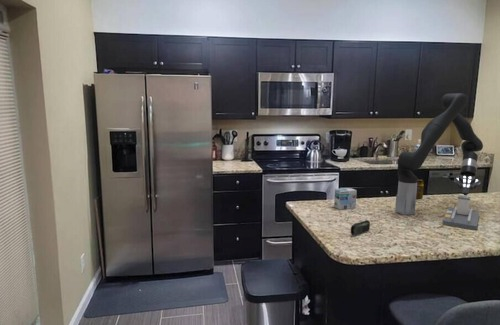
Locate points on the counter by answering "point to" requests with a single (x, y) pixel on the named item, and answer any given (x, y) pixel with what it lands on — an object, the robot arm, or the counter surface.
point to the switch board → (461, 219)
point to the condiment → (419, 190)
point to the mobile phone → (360, 228)
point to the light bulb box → (345, 198)
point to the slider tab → (463, 205)
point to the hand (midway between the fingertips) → (465, 194)
